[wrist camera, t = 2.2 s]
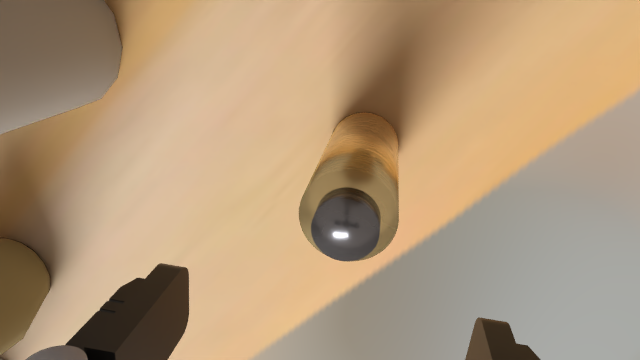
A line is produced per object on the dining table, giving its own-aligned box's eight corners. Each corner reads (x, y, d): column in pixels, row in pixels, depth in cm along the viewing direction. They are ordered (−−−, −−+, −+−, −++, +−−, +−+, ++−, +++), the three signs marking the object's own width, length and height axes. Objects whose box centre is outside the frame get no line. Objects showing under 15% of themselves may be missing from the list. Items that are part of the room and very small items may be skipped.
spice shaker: (327, 115, 28) (286, 184, 17) (396, 109, 27) (395, 178, 17) (334, 178, 29) (299, 277, 19) (400, 175, 28) (401, 275, 18)
